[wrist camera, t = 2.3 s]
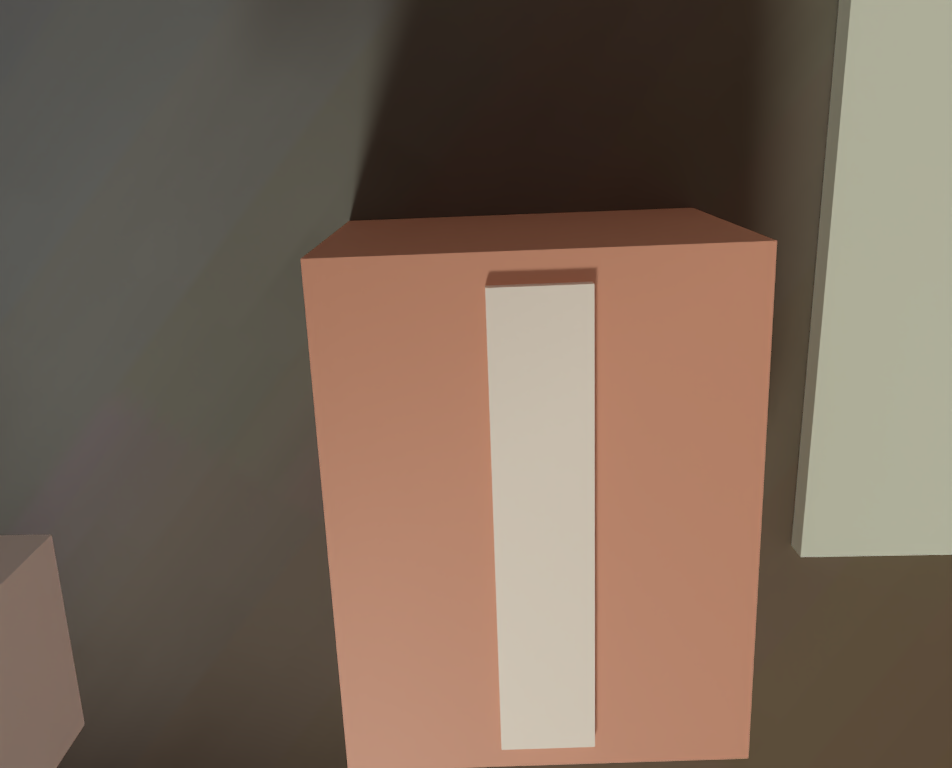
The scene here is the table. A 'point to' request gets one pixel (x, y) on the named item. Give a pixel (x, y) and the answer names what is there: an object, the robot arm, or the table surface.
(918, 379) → the mat
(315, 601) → the table surface
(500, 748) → the card box
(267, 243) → the table surface
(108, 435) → the table surface
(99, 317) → the table surface
